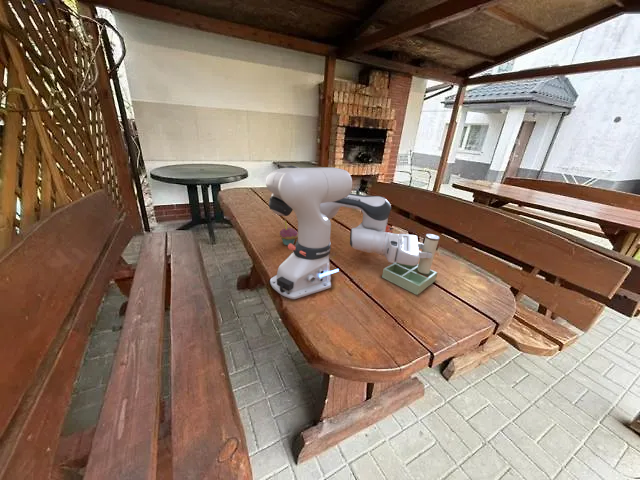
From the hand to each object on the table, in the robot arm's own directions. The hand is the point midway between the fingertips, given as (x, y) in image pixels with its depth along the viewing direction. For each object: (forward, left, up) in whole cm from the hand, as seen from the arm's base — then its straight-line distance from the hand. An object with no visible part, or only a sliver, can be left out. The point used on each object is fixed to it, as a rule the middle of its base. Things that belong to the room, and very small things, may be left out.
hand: (431, 252), depth 94 cm
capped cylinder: (0, +1, -8) cm, 8 cm away
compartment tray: (-4, +4, -12) cm, 13 cm away
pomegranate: (+23, +33, -12) cm, 42 cm away
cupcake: (-21, +56, -12) cm, 61 cm away
